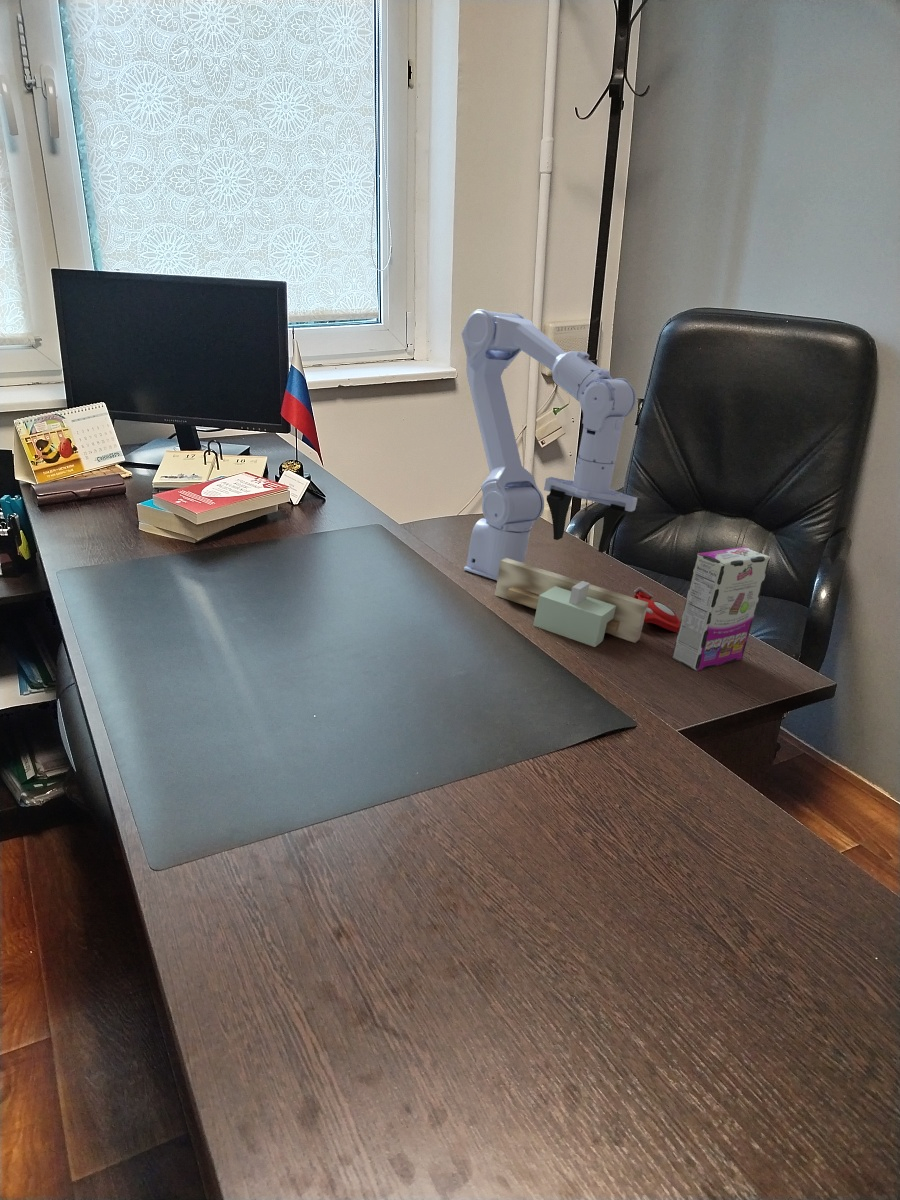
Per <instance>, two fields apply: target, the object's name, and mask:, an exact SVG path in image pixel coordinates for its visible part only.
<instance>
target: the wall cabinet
mask: <svg viewBox="0 0 900 1200" xmlns="http://www.w3.org/2000/svg"><path fill="white" fill-rule="evenodd" d="M580 581H581V580H580ZM590 584H591V583H590V582H587V581H584V580H582V581H581V582H580V583H578V584H576V585H575V586H573V587H572V591H569V590H566V589H563V588H560V587H557V586H555V587H553V588H551V589H550V590H548V591H546V592H544V593H543V594H541V595H539V599H538V604H537V609H535V610H536V611H535V615H534V621H533V625H532V626H533V627H536V628H539V629H542V630H545V631H547V632H550V633H553V634H556V635H559V636H563V637H565V638H568V639H571V640H572V641H573V640H574V641H575V642H576V641H577V642H579V643H582V644H584V645H588V646H591V647H594V648H596V647H597V646H598V645H600V644H601V643H602V642H603V641H604V637H605V634H606V633H605V630H606V625H607V623H608V622H609V621H610V620H612V619H613V618H614V613H615V609H616V606H615V605H612V604H609V603H606V602H603V601H600V600H597V599H594V598H591V597H587V594H588V590H589V585H590Z"/></svg>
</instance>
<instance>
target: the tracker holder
mask: <svg viewBox="0 0 900 1200" xmlns="http://www.w3.org/2000/svg"><path fill="white" fill-rule="evenodd" d="M633 593H634V596H633V598H636V599H639V600H642V601H645V602H648V606H647V610H646V614H645V619H644V623H651V624H654V625H656V626H659V627H661V628H662V629H666V630H668V631H670V632H673V633H678V632H679V627H680V623H681V619H680V618H679V617H678V616H677V614H676V613H675V611H673V610H672V609H671V608H670V607H669V606H667V605H666V604H663V603H662V602H659V601H656V600H652V599H653V598H654V595H653V594H651V593H650V592H649V591H647V590H646V589H644V588H643V587H642V586H639V587H637V588H636V589H635V590H634V591H633Z"/></svg>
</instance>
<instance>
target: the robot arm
mask: <svg viewBox="0 0 900 1200" xmlns="http://www.w3.org/2000/svg"><path fill="white" fill-rule="evenodd" d="M461 338H462V342H463V347H464V350H465V354H466V369H465V370H466V379H467V381H468V385H469V386H468V387H469V390H470V394H471V397H472V398H471V399H472V403H473V406H474V411H475V415H476V420H477V424H478V427H479V428H478V429H479V432H480V437H481V439H482V440H481V441H482V446H483V449H484V450H483V451H484V453H485V457H486V458H485V459H486V462H487V465H488V466H487V467H488V470H489V475H488V476H487V477H486V479H485V480H484V481H483V483H482V484H481V486H480V487H481V488H480V489H481V492H482V502H481V509H482V514H483V517H482V518H480V519H479V520H477V522H476V523H475V524H474V526H473V528H472V532H471V535H470V539H469V548H468V553H467V560H466V565H465V566H464V567H463V570H464V571H466V572H469V573H473V574H476V575H479V576H482V577H484V578H488V579H492V580H493V581H497V579H498V573H499V568H500V562H501V560H503V559H505V558H509V559H512V560H515V561H518V562H521V563H524V564H525V561H526V557H527V551H528V546H529V540H530V535H531V528H534V526H535V522H536V521H537V520H539V519H540V518H541V516H542V515H543V512H544V509H545V498H544V495H543V493H542V491H541V490H540V489H539V487H538V486H537V483H536V480H535V476H534V475H533V474H532V473H530V471H528V470H527V469H526V468H525V467H524V466H523V464H522V461H521V457H520V452H519V448H518V444H517V439H516V436H515V432H514V427H513V424H512V423H513V422H512V418H511V414H510V410H509V407H508V406H509V405H508V402H507V398H506V393H505V389H504V386H503V381H502V375H503V373H504V370H506V369H508V367H509V366H510V365H511V363H512V362H514V360H515V359H516V358H517V357H518V355H520V353H521V352H524V353H525V354H527V355H528V356H529V357H531V358H532V359H534V360H535V361H537V362H538V363H539V364H541V365H543V366H544V367H546V368H547V369H549V370H550V371H551V372H552V380H553V381H552V382H554V384H556V385H557V386H558V387H560V388H561V389H562V390H564V391H565V392H566V394H567V393H568V394H569V396H571V398H574V400H576V401H578V402H579V404H580V408H581V411H582V416H583V417H582V422H581V424H583V427H582V433H581V437H580V443H579V450H578V455H577V458H576V464H575V470H574V476H573V480H569V479H563V478H558V477H553V476H550V477H546V478H545V482H544V488H543V491H546V492H549V494H547V495H546V502H547V505H548V507H549V511H550V515H551V520H552V529H553V530H552V531H553V540H555V541H558V540H561V539H563V537H564V532H565V529H566V528H565V527H566V522H567V517H568V511H569V509H570V505H571V502H572V499H573V497H574V498H579V499H581V500H586V501H591V502H594V503H599V504H603V505H605V506H610V507H607V508H605V509H603V510H604V511H603V521H602V522H603V523H602V524H603V525H602V531H601V536H600V540H599V545H598V551H597V552H598V553H602V554H603V553H605V552H607V551H608V548H609V546H610V543H611V540H612V539H613V537H614V535H615V533H616V531H617V530H618V528H619V527H620V526H621V524H622V523H623V521H624V520H625V518H626V517H627V515H629V513H633V512H634V511H635V510H636V508H637V507H636V506H637V503H638V497H636V496H632V495H629V494H625V493H622V492H620V491H616V490H614V489H611V486H612V480H613V476H614V471H615V470H614V469H615V465H616V460H617V458H618V457H617V456H618V452H619V451H618V450H619V447H620V446H619V445H620V442H621V436H622V432H623V427H624V421H625V418H626V417H627V416H629V414H631V413H632V411H633V410H634V407H635V405H636V401H637V398H636V396H637V395H636V392H635V389H634V387H633V385H632V384H631V383H630V382H629V380H628V379H626V378H622V377H621V378H613V377H612V376H611V371H610V370H608V369H607V368H601V367H600V366H598V365H597V364H595V363H594V362H592V361H591V360H590V359H589V358H590V354H589V353H587V352H586V351H583V350H582V351H581V350H578V351H576V350H571V351H567V352H566V351H565V350H563V349H562V348H561V347H560V346H559V345H558V344H556V343H555V341H553V340H551V338H549V337H548V336H547V335H546V334H545V333H543V332H542V331H541V330H540V329H538V327H536V326H535V325H534V323H533V321H531V320H530V319H528V318H525V317H524V315H522V314H520V313H517V312H516V313H513V312H512V313H508V312H500V311H499V312H498V311H490V310H486V309H483V308H480V309H479V308H478V309H476V310H474V311H473V312H471V313H470V315H469V316H468V318H467V320H466V322H465V324H464V327H463V329H462V332H461Z"/></svg>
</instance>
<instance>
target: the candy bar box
mask: <svg viewBox="0 0 900 1200" xmlns="http://www.w3.org/2000/svg"><path fill="white" fill-rule="evenodd" d="M770 559H771V556H769V555H767V554H764V553H761V552H759V551H757V550H755V549H751V548H749V547H745V546H741V547H734V548H727V549H720V550H712V551H705V552H698V553H697V555H696V558H695V563H694V567H693V570H692V571H693V572H692V576H691V579H690V583H689V587H688V591H687V594H686V595H687V596H686V601H685V604H684V608H683V612H682V615H681V619H680V621H681V623H680V627H679V632H677V636H676V640H675V643H674V648H673V653H672V655H671V657H672V659H673V660H675V661H677V663H680V664H682V665H685V666H686V667H689V668H690V669H692V670H693V671H696V672H699V671H703V670H707V669H710V668H714V667H718V666H721V665H726V664H728V663H733V662H737V661H739V660H742V659H743V656H744V654H745V650H746V645H747V642H748V639H749V634H750V631H751V627H752V624H753V620H754V617H755V614H756V610H757V606H758V603H759V599H760V597H761V593H762V588H763V585H764V582H765V578H766V576H767V575H766V574H767V570H768V568H769V567H768V566H769V563H770Z"/></svg>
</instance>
